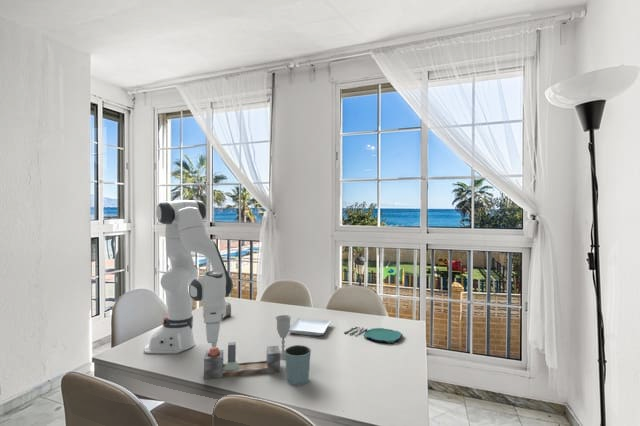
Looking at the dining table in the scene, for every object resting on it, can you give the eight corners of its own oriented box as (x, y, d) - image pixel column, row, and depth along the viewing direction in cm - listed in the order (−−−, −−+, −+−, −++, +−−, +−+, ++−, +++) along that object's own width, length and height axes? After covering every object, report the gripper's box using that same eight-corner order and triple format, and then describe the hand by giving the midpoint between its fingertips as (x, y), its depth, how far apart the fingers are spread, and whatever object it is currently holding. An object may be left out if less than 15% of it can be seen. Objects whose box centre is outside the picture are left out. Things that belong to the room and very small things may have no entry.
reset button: (208, 361, 138) (209, 351, 138) (209, 357, 141) (209, 347, 141) (218, 360, 139) (218, 350, 139) (218, 356, 142) (219, 347, 142)
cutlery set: (394, 347, 170) (394, 343, 170) (341, 335, 187) (341, 331, 187) (407, 336, 187) (407, 332, 187) (358, 326, 204) (358, 322, 204)
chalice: (283, 352, 162) (284, 314, 162) (293, 356, 158) (294, 317, 158) (271, 357, 157) (272, 317, 157) (282, 361, 152) (283, 320, 152)
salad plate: (285, 335, 186) (285, 328, 186) (297, 322, 207) (297, 317, 207) (323, 339, 181) (323, 332, 181) (332, 326, 202) (332, 320, 202)
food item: (216, 321, 206) (217, 305, 206) (206, 319, 209) (207, 303, 209) (232, 315, 218) (232, 300, 218) (222, 313, 221) (223, 298, 221)
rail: (203, 379, 135) (204, 358, 135) (205, 370, 143) (206, 350, 143) (280, 372, 142) (280, 353, 142) (277, 363, 150) (278, 345, 150)
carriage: (225, 371, 139) (225, 346, 139) (225, 365, 144) (225, 341, 144) (237, 370, 140) (238, 345, 140) (237, 364, 145) (238, 340, 145)
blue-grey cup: (310, 374, 141) (310, 345, 141) (310, 386, 131) (310, 355, 131) (285, 374, 141) (285, 345, 141) (283, 386, 131) (284, 355, 130)
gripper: (208, 305, 149) (208, 337, 149) (203, 320, 129) (203, 356, 129) (223, 304, 151) (223, 336, 151) (221, 319, 131) (220, 355, 131)
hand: (214, 345), depth 140 cm, fingers closed
